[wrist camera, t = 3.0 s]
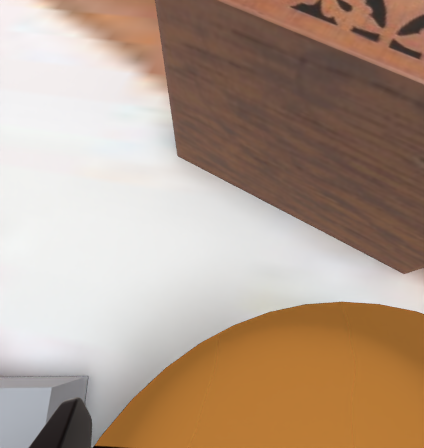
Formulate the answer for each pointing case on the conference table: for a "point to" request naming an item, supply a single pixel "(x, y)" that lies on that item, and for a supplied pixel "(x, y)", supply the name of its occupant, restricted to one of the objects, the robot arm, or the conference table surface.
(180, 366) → the gold-capped bottle
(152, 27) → the conference table surface
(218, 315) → the conference table surface
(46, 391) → the grey square hollow block
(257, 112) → the tissue box cover
